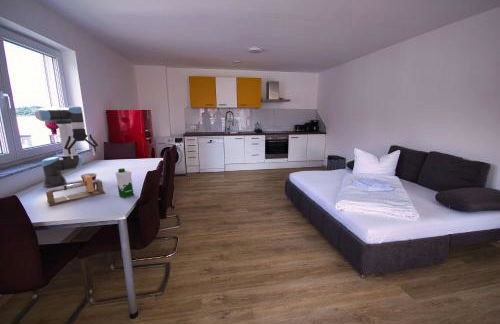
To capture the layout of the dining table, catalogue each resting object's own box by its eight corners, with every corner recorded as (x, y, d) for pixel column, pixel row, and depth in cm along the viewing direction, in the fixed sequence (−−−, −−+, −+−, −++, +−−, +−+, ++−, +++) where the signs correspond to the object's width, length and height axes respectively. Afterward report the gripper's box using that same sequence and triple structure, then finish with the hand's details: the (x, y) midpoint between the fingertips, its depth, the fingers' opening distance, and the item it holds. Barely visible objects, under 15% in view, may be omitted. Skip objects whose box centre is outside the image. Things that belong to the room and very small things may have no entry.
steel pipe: (49, 192, 155) (48, 187, 154) (98, 182, 176) (97, 178, 175) (49, 193, 153) (48, 188, 152) (99, 183, 174) (98, 179, 173)
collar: (85, 189, 173) (82, 175, 171) (90, 188, 176) (87, 174, 173) (89, 192, 166) (86, 177, 164) (94, 191, 168) (91, 176, 166)
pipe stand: (47, 201, 158) (44, 189, 156) (100, 190, 181) (98, 179, 179) (50, 206, 150) (47, 193, 148) (105, 193, 173) (103, 182, 171)
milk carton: (128, 192, 174) (125, 167, 170) (135, 194, 169) (132, 168, 165) (117, 196, 167) (113, 170, 163) (124, 198, 162) (120, 171, 158)
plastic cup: (90, 191, 178) (88, 176, 175) (79, 190, 180) (76, 176, 178) (102, 187, 188) (100, 173, 186) (91, 186, 191) (88, 172, 188)
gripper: (57, 129, 153) (63, 160, 158) (99, 127, 171) (104, 155, 175) (55, 129, 158) (61, 159, 162) (97, 127, 176) (101, 154, 180)
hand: (83, 157), depth 169 cm, fingers open, 13 cm apart
